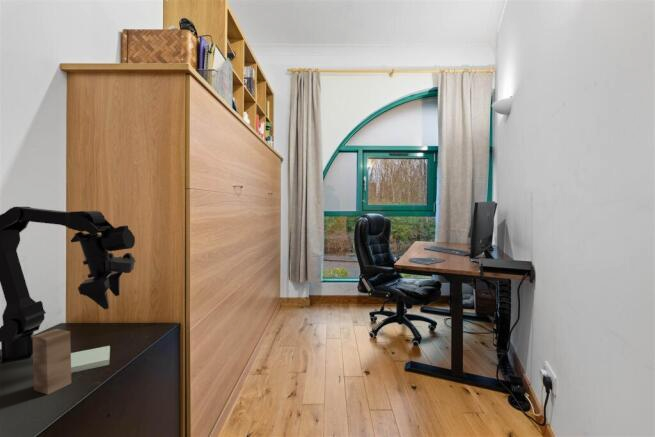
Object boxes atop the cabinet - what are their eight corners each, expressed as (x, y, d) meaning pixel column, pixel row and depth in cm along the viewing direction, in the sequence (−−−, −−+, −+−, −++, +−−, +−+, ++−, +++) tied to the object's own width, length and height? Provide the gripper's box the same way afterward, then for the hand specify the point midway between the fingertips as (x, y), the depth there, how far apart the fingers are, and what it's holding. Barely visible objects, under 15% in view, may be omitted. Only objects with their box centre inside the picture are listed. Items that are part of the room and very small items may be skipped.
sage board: (61, 375, 82) (61, 369, 82) (67, 359, 90) (67, 353, 90) (108, 364, 87) (108, 359, 87) (109, 350, 95) (109, 345, 95)
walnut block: (33, 390, 75) (32, 336, 74) (57, 379, 80) (56, 328, 79) (47, 394, 73) (46, 339, 73) (71, 383, 78) (70, 331, 77)
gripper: (116, 256, 85) (133, 308, 89) (136, 239, 102) (148, 283, 106) (68, 266, 82) (87, 319, 86) (97, 247, 100) (111, 292, 103)
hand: (112, 301), depth 95 cm, fingers open, 9 cm apart
